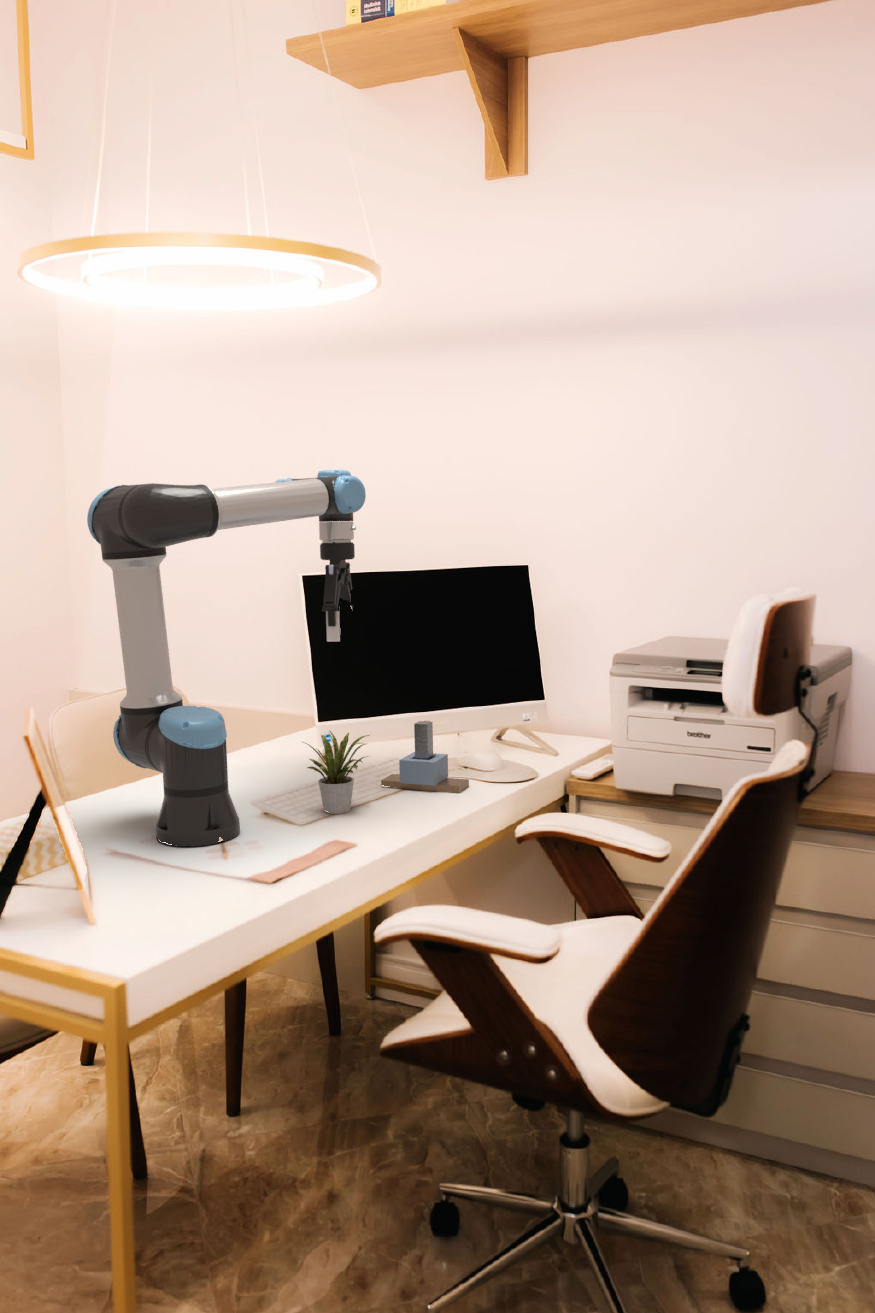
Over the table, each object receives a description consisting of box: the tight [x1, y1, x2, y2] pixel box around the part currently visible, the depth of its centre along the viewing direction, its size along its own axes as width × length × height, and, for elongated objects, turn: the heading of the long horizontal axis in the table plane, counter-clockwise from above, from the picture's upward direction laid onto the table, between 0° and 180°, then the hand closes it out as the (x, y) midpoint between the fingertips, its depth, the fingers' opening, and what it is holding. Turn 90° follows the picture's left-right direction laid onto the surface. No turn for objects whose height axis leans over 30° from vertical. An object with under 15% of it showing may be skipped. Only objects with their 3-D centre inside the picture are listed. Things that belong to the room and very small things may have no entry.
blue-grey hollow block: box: [398, 751, 449, 786], centre depth 225 cm, size 8×8×5 cm
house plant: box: [302, 729, 371, 815], centre depth 207 cm, size 14×14×16 cm
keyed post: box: [380, 720, 470, 794], centre depth 224 cm, size 6×18×14 cm, turn 69°
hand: (340, 638), depth 232 cm, fingers open, 13 cm apart
